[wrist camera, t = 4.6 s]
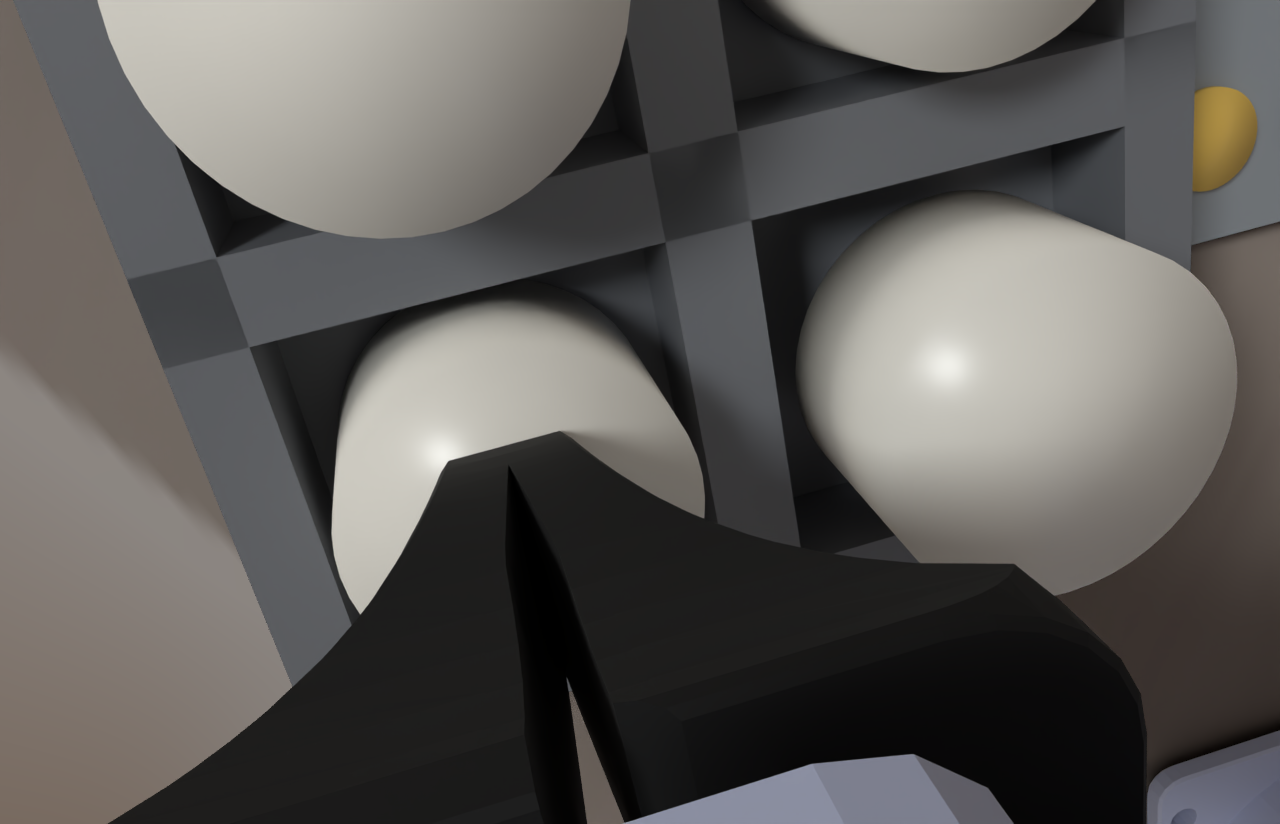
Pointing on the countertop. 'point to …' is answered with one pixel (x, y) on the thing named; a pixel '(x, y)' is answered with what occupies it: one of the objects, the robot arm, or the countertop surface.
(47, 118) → the countertop surface
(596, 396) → the cream round ball
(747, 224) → the tray
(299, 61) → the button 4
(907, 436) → the cream rounded dome
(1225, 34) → the tile
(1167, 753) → the countertop surface
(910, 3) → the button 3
